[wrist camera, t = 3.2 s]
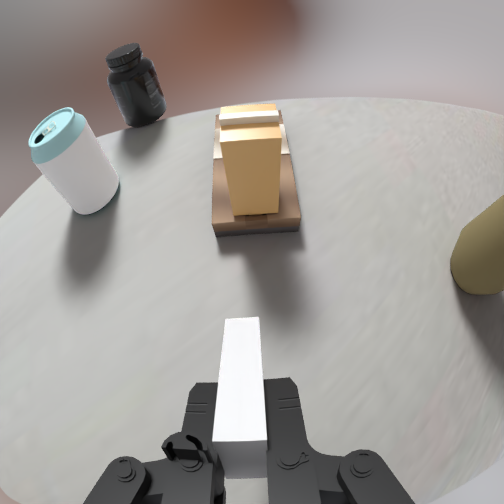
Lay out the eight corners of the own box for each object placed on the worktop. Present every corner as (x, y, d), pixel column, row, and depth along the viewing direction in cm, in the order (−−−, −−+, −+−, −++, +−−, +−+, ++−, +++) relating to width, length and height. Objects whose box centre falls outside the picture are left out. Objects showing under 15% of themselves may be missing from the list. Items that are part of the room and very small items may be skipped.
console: (298, 231, 28) (301, 217, 25) (216, 236, 28) (211, 223, 26) (280, 125, 35) (280, 109, 32) (218, 129, 35) (215, 114, 32)
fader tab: (277, 221, 27) (282, 131, 17) (234, 224, 27) (218, 135, 17) (273, 187, 29) (275, 97, 19) (234, 190, 29) (219, 101, 19)
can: (109, 218, 30) (55, 146, 19) (67, 217, 30) (13, 156, 19) (128, 170, 33) (90, 97, 22) (86, 173, 33) (45, 110, 22)
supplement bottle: (154, 97, 40) (135, 36, 29) (175, 110, 37) (156, 42, 27) (119, 119, 38) (92, 59, 27) (136, 135, 36) (107, 67, 25)
